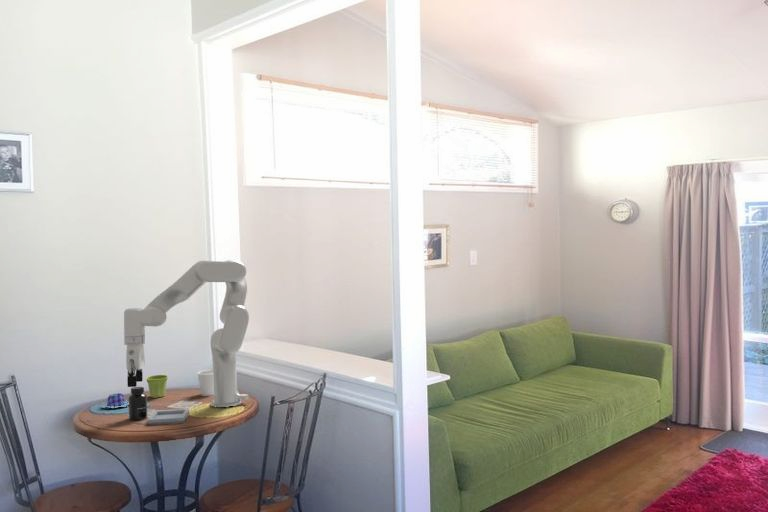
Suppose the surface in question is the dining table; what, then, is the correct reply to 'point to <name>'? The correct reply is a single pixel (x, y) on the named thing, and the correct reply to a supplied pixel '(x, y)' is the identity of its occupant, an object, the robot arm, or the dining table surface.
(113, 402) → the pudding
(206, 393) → the dixie cup
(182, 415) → the tray
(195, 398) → the dining table surface
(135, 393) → the supplement bottle
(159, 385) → the plant pot
